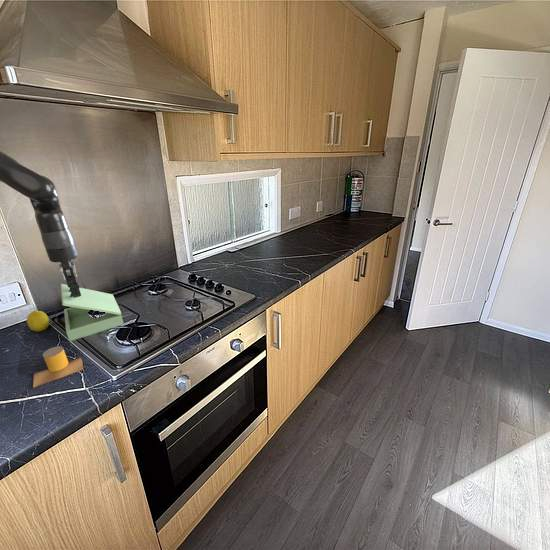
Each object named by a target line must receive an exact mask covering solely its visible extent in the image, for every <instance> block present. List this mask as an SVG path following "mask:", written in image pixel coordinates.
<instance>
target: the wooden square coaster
mask: <svg viewBox="0 0 550 550" xmlns="http://www.w3.org/2000/svg"><path fill="white" fill-rule="evenodd" d="M68 362H69V363H68V365H67V366H66V367H65V368H63V369H61V370H59V371H55V372H51V371H49V369H48V368H45V369H42V370H39V371H36V372H34V373H33V381H32V382H33V384H32V388H37V387H40V386H42V385H45V384H48V383H50V382H54V381H56V380H59V379H62V378H64V377H68V376H70V375H72V374H75V373H78V372H81V371H84V363H83V358H82V356H80V357H77V358H74V359H71V360H68Z"/></svg>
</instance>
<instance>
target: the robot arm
mask: <svg viewBox="0 0 550 550" xmlns="http://www.w3.org/2000/svg"><path fill="white" fill-rule="evenodd" d="M0 183H3V184H5V185H7V186H8V187H9V188H11V189H13V190H15V191H16V192H18V193H19V194H21V195H23V196H25V197H26V198H28V199H29V201H30V203H31V206H32V208H33V212H34V217H35V218H34V219H35V222H36V224H37V228H38V231H39V232H40V237H41V241H42V243H43V247H44V249H45V252H46V254H47V258H48V260H49V261H50V262H51V263H60V264H59V267H58V268H59V270H60V272H61V273H62V276H63V280H64V281H66V285H67V286H68V287H69V288H70V290H71V293H72V295H73V297H74V298H76V297H80V296H81V293H80V290H79V288H80V286H79V287H78V283H77V280H76V279H78V274H77V269H76V264H75V262H74V261H72V260H75V259H76V258H78V257H79V253H78V252H79V251H78V249H77V247H76V246H77V245H76V243H75V240H74V237H73V234H72V232H71V230H70V228H69V225H68V222H67V219H66V216H65V214H64V212H63V210H62V207H61V204H60V203H61V202H60V199H59V196H58V193H57V188H56V186H55V183H54V182H53V181H52V180H51V179H50V178H49V177H47V176H45V175H42V174H39V173H37V172H36V171H34V170H32V169H30V168H28V167H27V166H24V165H23V164H21V163H20V162H19V161H17V160H15V159H14V158H13V157H11V156H10V155H8V154H6V153H4V152H3V151H1V150H0ZM71 280H74V281H75V282H74V283H71Z"/></svg>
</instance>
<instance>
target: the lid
mask: <svg viewBox="0 0 550 550" xmlns="http://www.w3.org/2000/svg"><path fill="white" fill-rule="evenodd" d="M76 280H77V283H78V287H79V290H80V293H81V296H80V297H76V298H74V297H73V295H72V293H71V290H70V288H69V287H68V286H67V285H68V284H65V283H60V296H61V305H62V306H64V307H68V308H71V307H75V308H81V309H87V310H93V311H99V312H105V313H111V314H117V315H121V316H122V311H121V309H120V307H119V305H118V303H117V301H116V298H115V296H114V295H113V293H107V292H103V291H99V290H93V289H89V288H84V287H80V283H79V278H77V279H76ZM74 282H75V281H74V280H71V283H74Z"/></svg>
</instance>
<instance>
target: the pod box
mask: <svg viewBox="0 0 550 550" xmlns="http://www.w3.org/2000/svg"><path fill="white" fill-rule="evenodd" d="M89 311H90V310H87V309H81V308H75V307H68V308H64V309H63V314H64V323H65V333H66V336H67V338H68V341H69V342H72V341H75V340H78V339H82V338H85V337H88V336H91V335H95V334H99V333H101V332H104V331H107V330H111V329H113V328H114V329H115V328H116V327H121V326H123V325H125V323H124V320H123V316H122V314H121V315H117V314H111V313H108V314H106V315H104V316H102V317H100V318H92V317H90V316H89V315H88V312H89Z"/></svg>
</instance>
